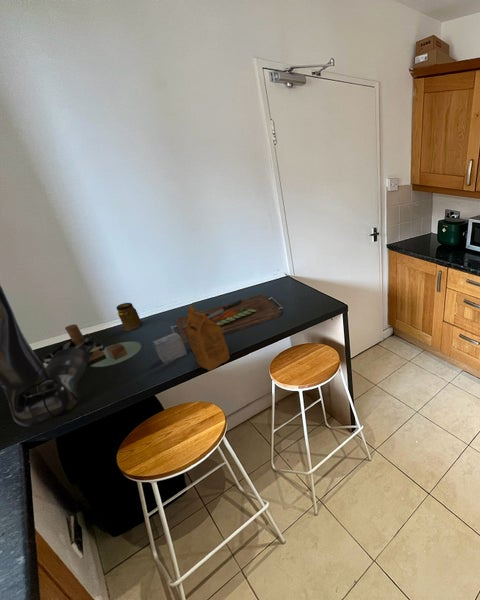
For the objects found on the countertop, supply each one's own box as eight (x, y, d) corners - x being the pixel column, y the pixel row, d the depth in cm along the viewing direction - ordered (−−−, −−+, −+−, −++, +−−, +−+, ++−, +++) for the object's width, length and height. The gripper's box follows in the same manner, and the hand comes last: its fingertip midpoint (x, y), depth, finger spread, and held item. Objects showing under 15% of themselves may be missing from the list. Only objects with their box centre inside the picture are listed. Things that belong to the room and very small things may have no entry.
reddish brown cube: (115, 360, 116) (110, 351, 114) (110, 356, 118) (105, 348, 116) (127, 354, 119) (123, 345, 118) (122, 351, 121) (118, 342, 119)
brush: (79, 370, 97) (57, 333, 91) (75, 367, 99) (53, 330, 93) (107, 358, 103) (87, 322, 97) (102, 355, 104) (83, 320, 98)
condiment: (123, 329, 137) (111, 305, 131) (146, 321, 143) (136, 298, 137) (128, 335, 133) (116, 310, 127) (151, 327, 139) (141, 303, 133)
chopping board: (178, 350, 123) (175, 343, 122) (168, 323, 142) (166, 317, 140) (288, 313, 149) (287, 308, 148) (268, 294, 167) (267, 289, 166)
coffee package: (218, 348, 124) (202, 299, 114) (234, 360, 118) (219, 309, 108) (191, 361, 117) (172, 309, 107) (207, 374, 111) (188, 320, 101)
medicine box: (182, 350, 123) (175, 331, 119) (187, 354, 121) (180, 335, 117) (159, 360, 118) (151, 341, 114) (165, 365, 115) (156, 345, 111)
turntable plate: (100, 374, 111) (99, 372, 110) (80, 360, 118) (79, 358, 117) (150, 350, 123) (149, 348, 123) (129, 339, 130) (128, 337, 130)
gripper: (93, 348, 88) (105, 321, 101) (23, 365, 81) (45, 334, 95) (105, 369, 91) (115, 340, 104) (39, 387, 85) (58, 354, 98)
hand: (82, 337), depth 99 cm, fingers closed on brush, 2 cm apart
